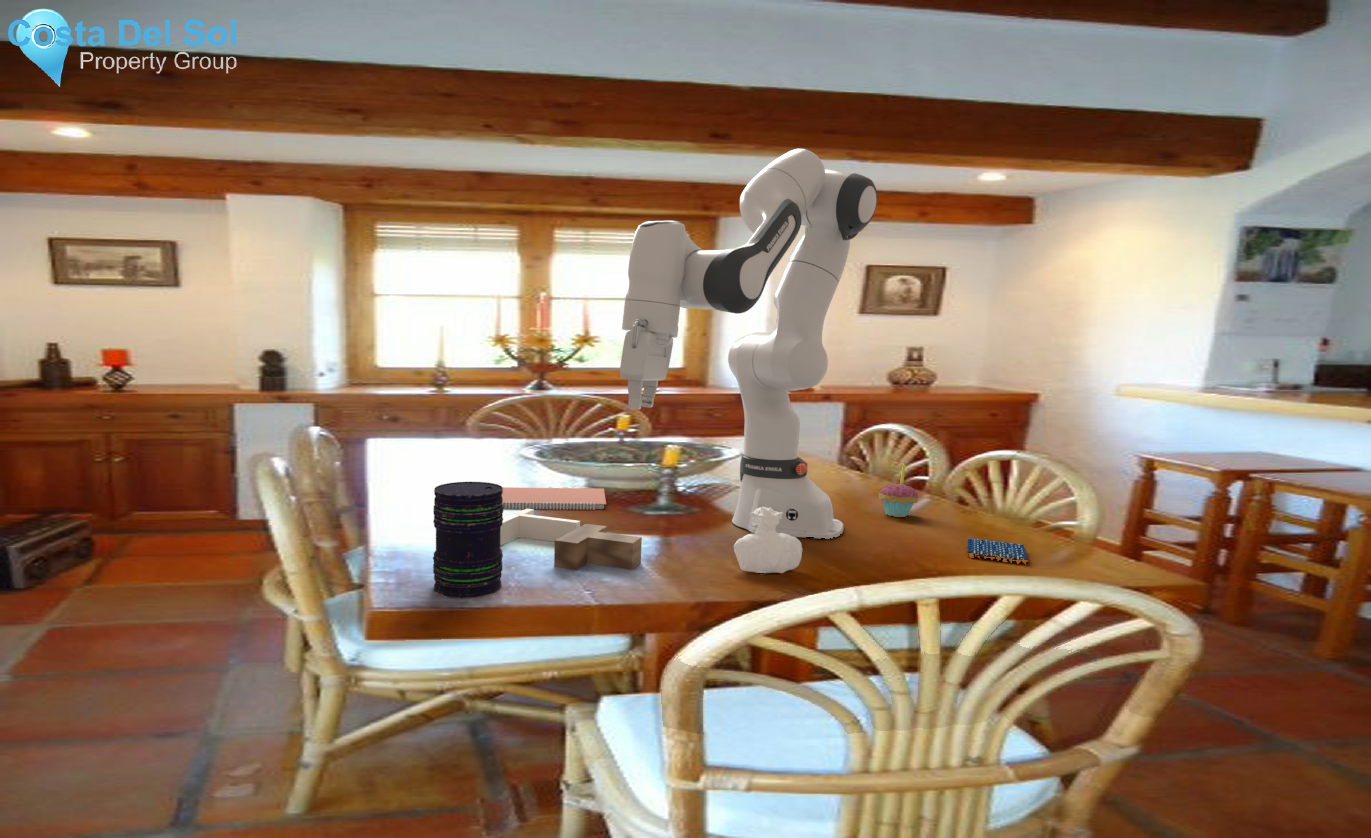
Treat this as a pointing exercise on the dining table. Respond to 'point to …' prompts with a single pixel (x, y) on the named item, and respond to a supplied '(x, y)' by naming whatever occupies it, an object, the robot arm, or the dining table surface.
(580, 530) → the t block
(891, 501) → the cupcake
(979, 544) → the woven mat
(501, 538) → the corner fence
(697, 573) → the dining table surface
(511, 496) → the notebook
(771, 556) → the bust
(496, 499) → the rusty oil barrel
